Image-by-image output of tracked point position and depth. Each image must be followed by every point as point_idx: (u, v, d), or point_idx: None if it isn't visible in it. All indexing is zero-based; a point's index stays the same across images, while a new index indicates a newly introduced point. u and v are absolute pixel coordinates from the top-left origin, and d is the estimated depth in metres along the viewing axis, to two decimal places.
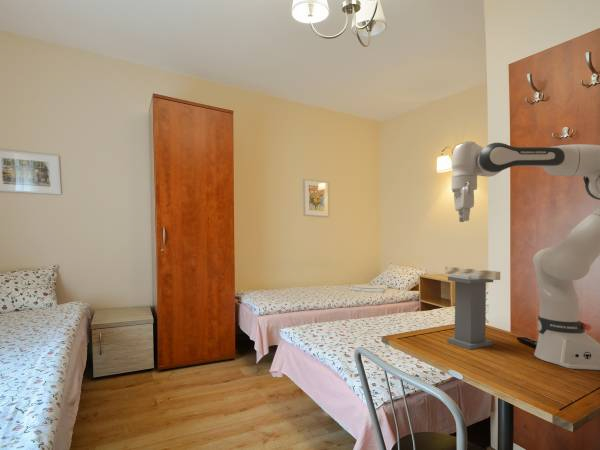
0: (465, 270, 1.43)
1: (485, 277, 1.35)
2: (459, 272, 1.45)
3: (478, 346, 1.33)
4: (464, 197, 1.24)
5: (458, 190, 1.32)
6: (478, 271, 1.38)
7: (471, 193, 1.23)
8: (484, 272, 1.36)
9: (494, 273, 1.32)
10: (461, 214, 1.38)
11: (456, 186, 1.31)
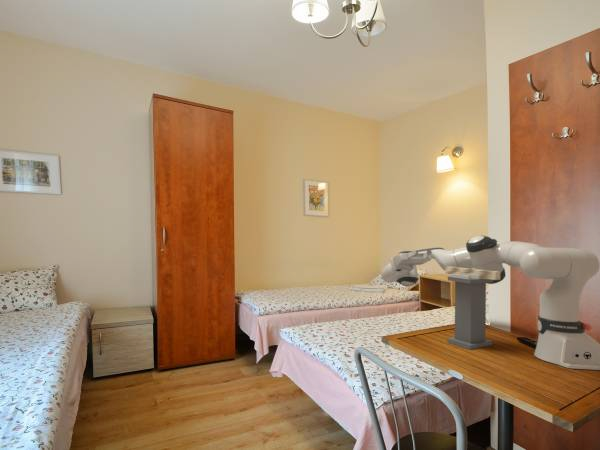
0: (465, 270, 1.43)
1: (485, 277, 1.35)
2: (459, 272, 1.45)
3: (478, 346, 1.33)
4: None
5: None
6: (478, 271, 1.38)
7: None
8: (484, 272, 1.36)
9: (494, 273, 1.32)
10: None
11: None
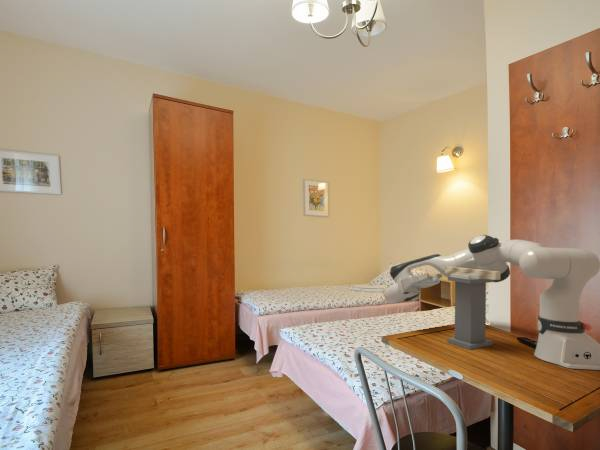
0: (465, 270, 1.43)
1: (485, 277, 1.35)
2: (459, 272, 1.45)
3: (478, 346, 1.33)
4: None
5: None
6: (478, 271, 1.38)
7: None
8: (484, 272, 1.36)
9: (494, 273, 1.32)
10: None
11: None
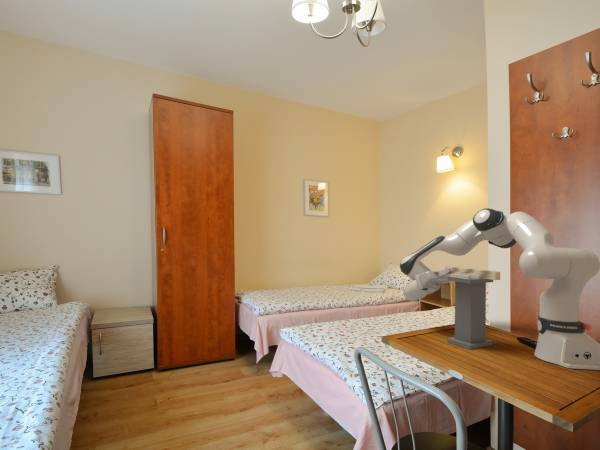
0: (465, 270, 1.43)
1: (485, 277, 1.35)
2: (459, 272, 1.45)
3: (478, 346, 1.33)
4: None
5: None
6: (478, 271, 1.38)
7: None
8: (484, 272, 1.36)
9: (494, 273, 1.32)
10: None
11: None
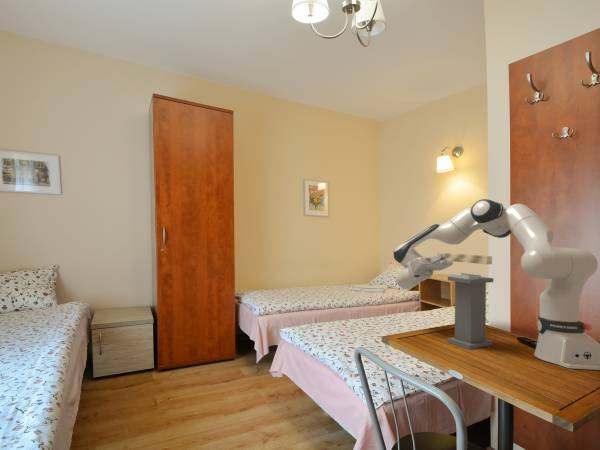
0: (457, 255, 1.41)
1: (477, 262, 1.33)
2: (451, 258, 1.43)
3: (478, 346, 1.33)
4: None
5: None
6: (470, 256, 1.36)
7: None
8: (476, 257, 1.34)
9: (485, 257, 1.30)
10: None
11: None
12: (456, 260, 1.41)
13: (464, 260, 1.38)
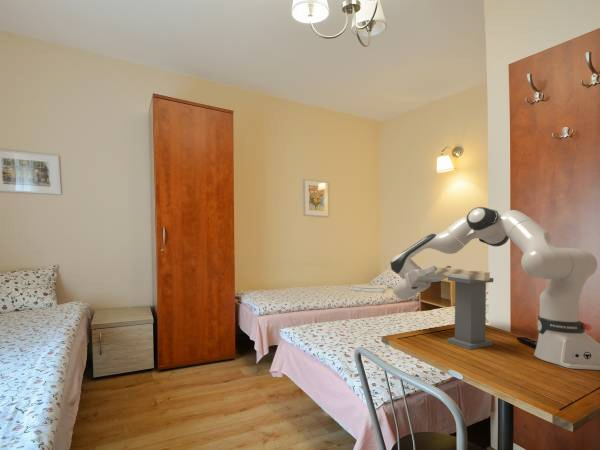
0: (454, 270, 1.40)
1: (474, 278, 1.32)
2: (448, 272, 1.42)
3: (478, 346, 1.33)
4: None
5: None
6: (467, 271, 1.35)
7: None
8: (473, 273, 1.33)
9: (483, 274, 1.29)
10: None
11: None
12: None
13: None
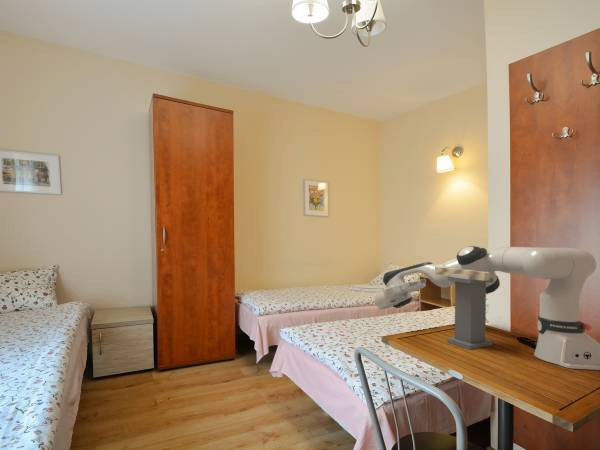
0: (454, 270, 1.40)
1: (474, 278, 1.32)
2: (448, 272, 1.42)
3: (478, 346, 1.33)
4: None
5: None
6: (467, 271, 1.35)
7: None
8: (473, 273, 1.33)
9: (483, 274, 1.29)
10: None
11: None
12: None
13: None
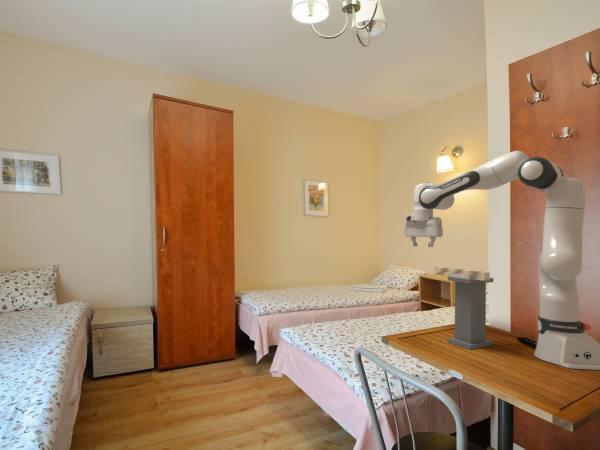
0: (454, 270, 1.40)
1: (474, 278, 1.32)
2: (448, 272, 1.42)
3: (478, 346, 1.33)
4: (438, 229, 1.56)
5: (423, 221, 1.62)
6: (467, 271, 1.35)
7: (441, 226, 1.57)
8: (473, 273, 1.33)
9: (483, 274, 1.29)
10: (413, 240, 1.70)
11: (423, 218, 1.61)
12: None
13: None
